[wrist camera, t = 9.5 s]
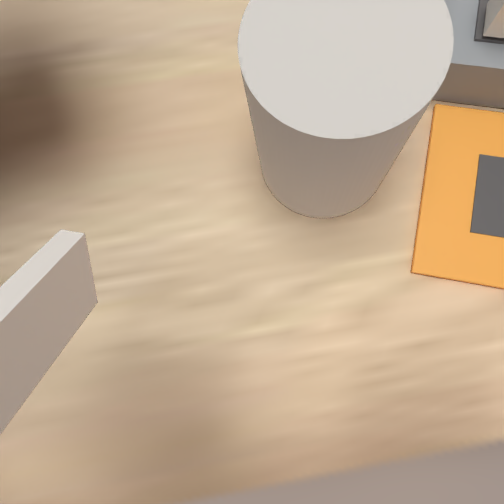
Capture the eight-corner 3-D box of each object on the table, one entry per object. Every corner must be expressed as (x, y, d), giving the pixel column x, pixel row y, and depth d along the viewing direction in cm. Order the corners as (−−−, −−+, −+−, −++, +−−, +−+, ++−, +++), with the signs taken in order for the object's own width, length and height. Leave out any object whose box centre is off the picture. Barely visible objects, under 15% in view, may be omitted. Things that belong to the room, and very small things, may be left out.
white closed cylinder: (404, 122, 28) (483, -22, 16) (359, 236, 27) (410, 169, 16) (288, 84, 30) (284, -76, 18) (241, 192, 29) (205, 98, 17)
